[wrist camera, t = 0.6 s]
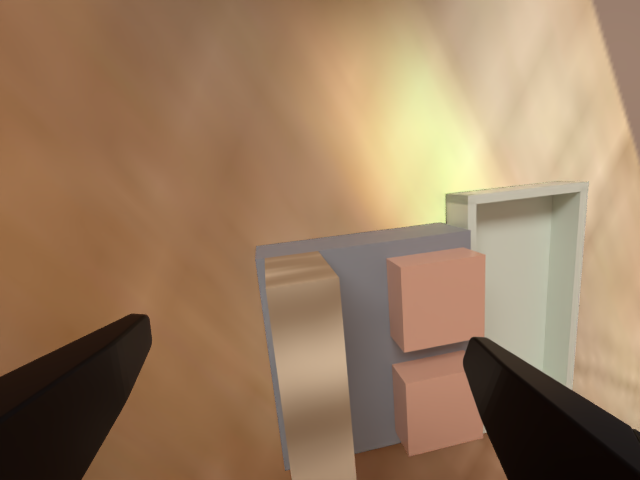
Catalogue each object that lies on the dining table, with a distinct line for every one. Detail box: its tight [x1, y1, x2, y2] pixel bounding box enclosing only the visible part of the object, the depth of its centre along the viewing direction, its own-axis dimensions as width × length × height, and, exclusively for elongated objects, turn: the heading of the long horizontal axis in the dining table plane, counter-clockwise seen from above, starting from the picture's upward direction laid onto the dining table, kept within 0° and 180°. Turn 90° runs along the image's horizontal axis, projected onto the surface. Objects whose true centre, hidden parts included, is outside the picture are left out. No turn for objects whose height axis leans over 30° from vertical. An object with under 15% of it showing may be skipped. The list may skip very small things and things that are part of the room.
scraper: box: [265, 251, 356, 480], centre depth 17 cm, size 14×3×5 cm, turn 6°
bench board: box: [255, 223, 471, 471], centre depth 21 cm, size 14×13×4 cm
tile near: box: [386, 247, 486, 353], centre depth 19 cm, size 5×5×2 cm
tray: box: [446, 181, 589, 433], centre depth 24 cm, size 18×9×2 cm, turn 6°
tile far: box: [392, 350, 483, 457], centre depth 20 cm, size 5×5×2 cm
